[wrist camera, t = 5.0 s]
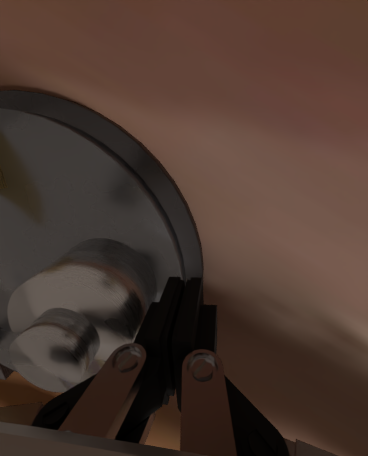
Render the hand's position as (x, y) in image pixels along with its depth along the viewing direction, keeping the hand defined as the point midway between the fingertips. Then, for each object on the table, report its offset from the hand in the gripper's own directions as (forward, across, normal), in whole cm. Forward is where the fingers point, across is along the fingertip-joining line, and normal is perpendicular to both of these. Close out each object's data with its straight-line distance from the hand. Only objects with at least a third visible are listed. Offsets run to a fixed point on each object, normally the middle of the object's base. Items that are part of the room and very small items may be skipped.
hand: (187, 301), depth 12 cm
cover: (+2, +5, 0) cm, 5 cm away
